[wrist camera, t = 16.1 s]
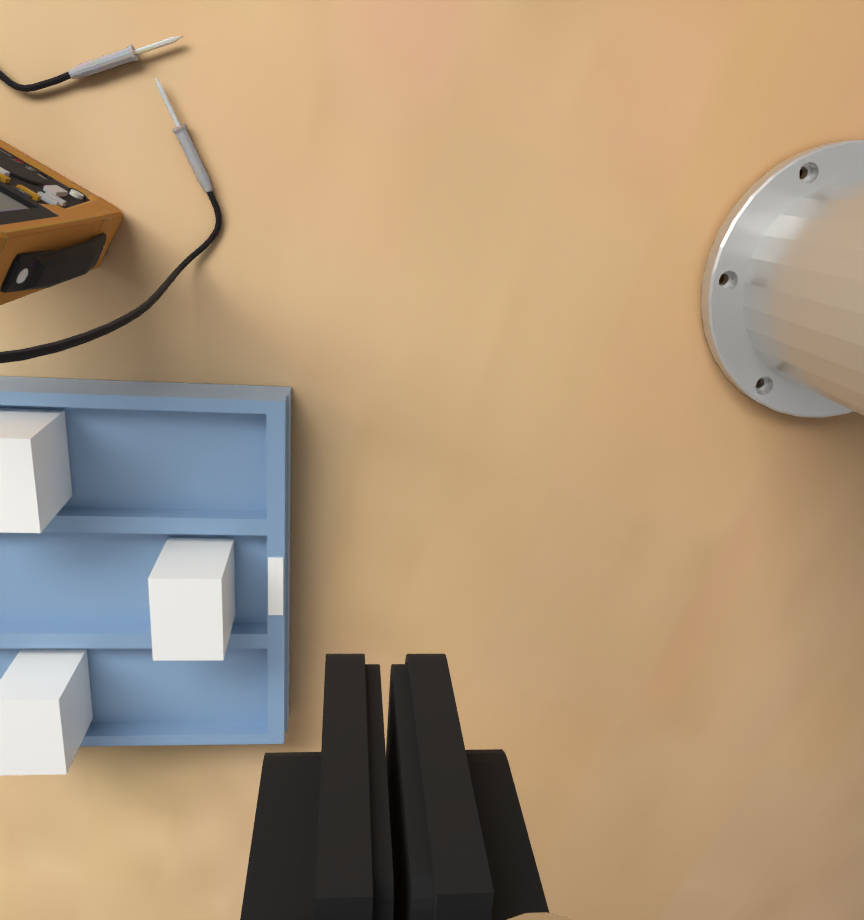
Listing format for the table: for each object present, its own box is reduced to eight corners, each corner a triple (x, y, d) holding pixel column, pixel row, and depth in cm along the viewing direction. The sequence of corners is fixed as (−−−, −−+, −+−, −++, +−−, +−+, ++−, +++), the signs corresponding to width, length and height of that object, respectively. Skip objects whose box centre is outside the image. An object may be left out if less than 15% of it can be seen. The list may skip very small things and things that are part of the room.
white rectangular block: (234, 538, 37) (221, 579, 34) (235, 613, 39) (223, 660, 35) (168, 537, 37) (148, 578, 33) (171, 612, 38) (152, 660, 35)
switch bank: (291, 386, 37) (287, 402, 34) (289, 712, 43) (285, 745, 40) (-78, 373, 35) (-110, 388, 33) (-27, 715, 41) (-50, 749, 39)
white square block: (86, 648, 39) (58, 700, 35) (92, 717, 40) (66, 774, 36) (21, 648, 38) (-15, 700, 34) (30, 718, 40) (-4, 775, 36)
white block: (64, 410, 35) (30, 439, 31) (72, 495, 36) (40, 533, 32) (-9, 407, 34) (-53, 436, 31) (2, 494, 36) (-39, 531, 32)
